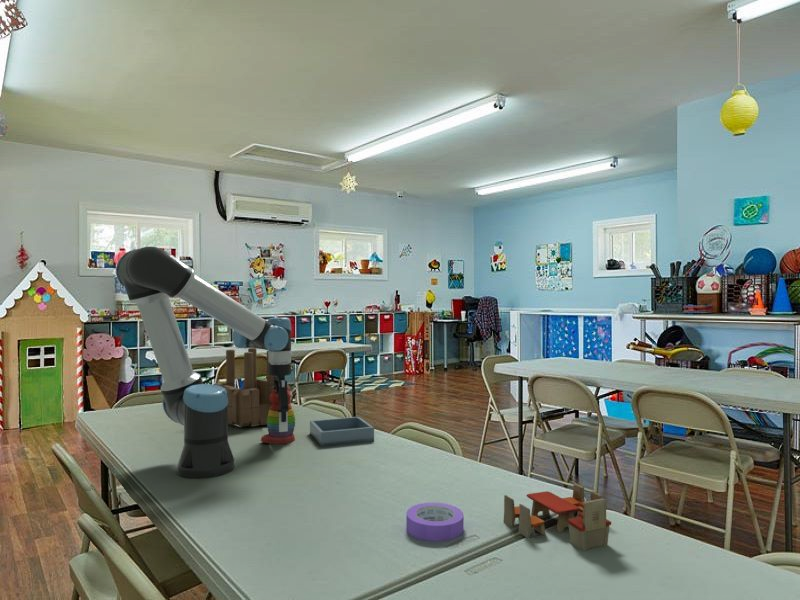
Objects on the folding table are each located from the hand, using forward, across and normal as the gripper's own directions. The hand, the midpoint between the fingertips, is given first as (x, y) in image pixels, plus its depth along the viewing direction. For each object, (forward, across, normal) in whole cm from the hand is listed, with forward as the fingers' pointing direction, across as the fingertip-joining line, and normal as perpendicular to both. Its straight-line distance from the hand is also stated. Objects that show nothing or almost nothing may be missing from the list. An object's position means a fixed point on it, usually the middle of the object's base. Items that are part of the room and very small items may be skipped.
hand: (280, 427), depth 182 cm
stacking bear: (+5, 0, 0) cm, 5 cm away
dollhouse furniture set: (+5, -94, -43) cm, 104 cm away
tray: (+4, -4, -20) cm, 21 cm away
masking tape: (+5, -84, -19) cm, 86 cm away
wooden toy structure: (+5, +40, +6) cm, 41 cm away
